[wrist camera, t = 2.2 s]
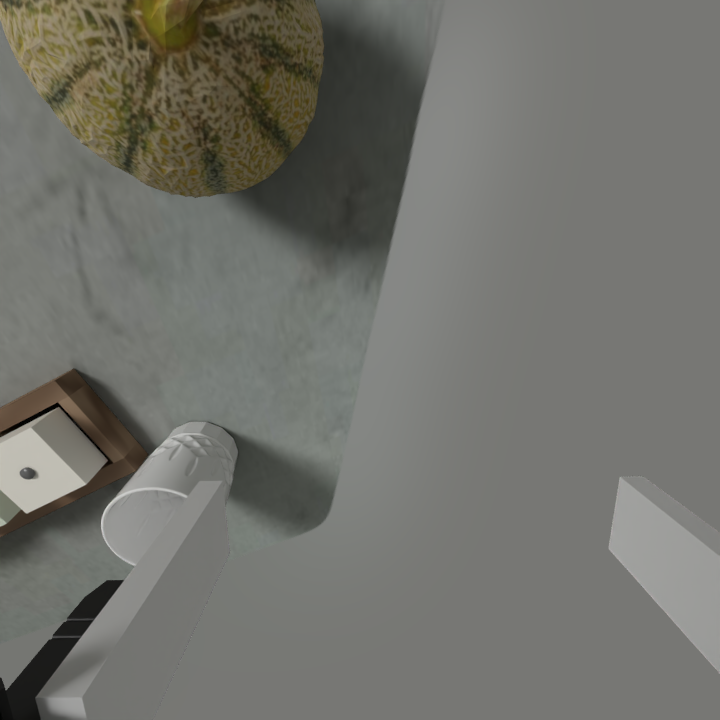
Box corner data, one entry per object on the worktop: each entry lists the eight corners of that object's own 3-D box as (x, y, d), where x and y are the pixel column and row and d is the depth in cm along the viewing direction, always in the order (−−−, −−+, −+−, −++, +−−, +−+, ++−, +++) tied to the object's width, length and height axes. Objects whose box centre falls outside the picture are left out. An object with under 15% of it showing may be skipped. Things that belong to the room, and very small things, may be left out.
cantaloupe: (88, -82, 23) (-282, -525, 9) (334, -38, 25) (338, -360, 11) (117, 187, 28) (-89, 168, 14) (318, 210, 30) (307, 212, 16)
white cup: (217, 402, 35) (176, 471, 26) (259, 466, 38) (236, 550, 29) (142, 434, 36) (76, 513, 27) (189, 495, 39) (144, 586, 29)
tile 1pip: (0, 437, 32) (-35, 461, 29) (58, 406, 32) (28, 428, 29) (52, 487, 35) (24, 515, 31) (108, 460, 34) (85, 485, 31)
